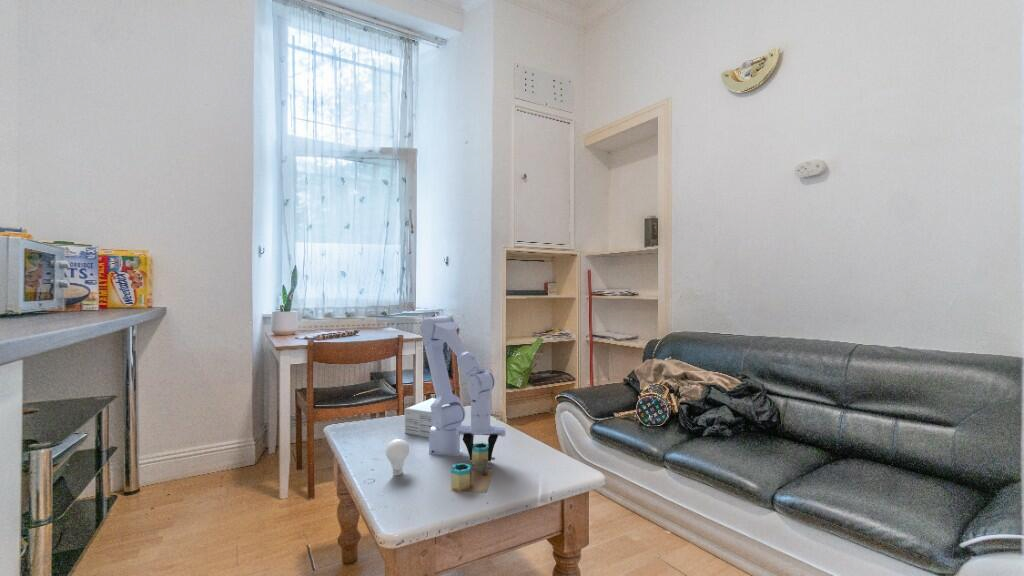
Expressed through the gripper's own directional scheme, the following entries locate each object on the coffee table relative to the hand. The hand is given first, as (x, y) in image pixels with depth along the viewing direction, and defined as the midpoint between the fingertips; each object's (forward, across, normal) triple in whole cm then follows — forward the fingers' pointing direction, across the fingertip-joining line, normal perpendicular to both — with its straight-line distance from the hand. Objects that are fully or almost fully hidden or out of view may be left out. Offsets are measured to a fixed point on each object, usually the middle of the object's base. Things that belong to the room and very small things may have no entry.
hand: (480, 459), depth 129 cm
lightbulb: (+3, -22, -9) cm, 24 cm away
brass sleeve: (+1, 0, 0) cm, 1 cm away
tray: (+2, 0, 0) cm, 3 cm away
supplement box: (+3, -24, +33) cm, 41 cm away
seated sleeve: (+1, -2, -15) cm, 16 cm away
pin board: (+2, 0, -12) cm, 12 cm away
